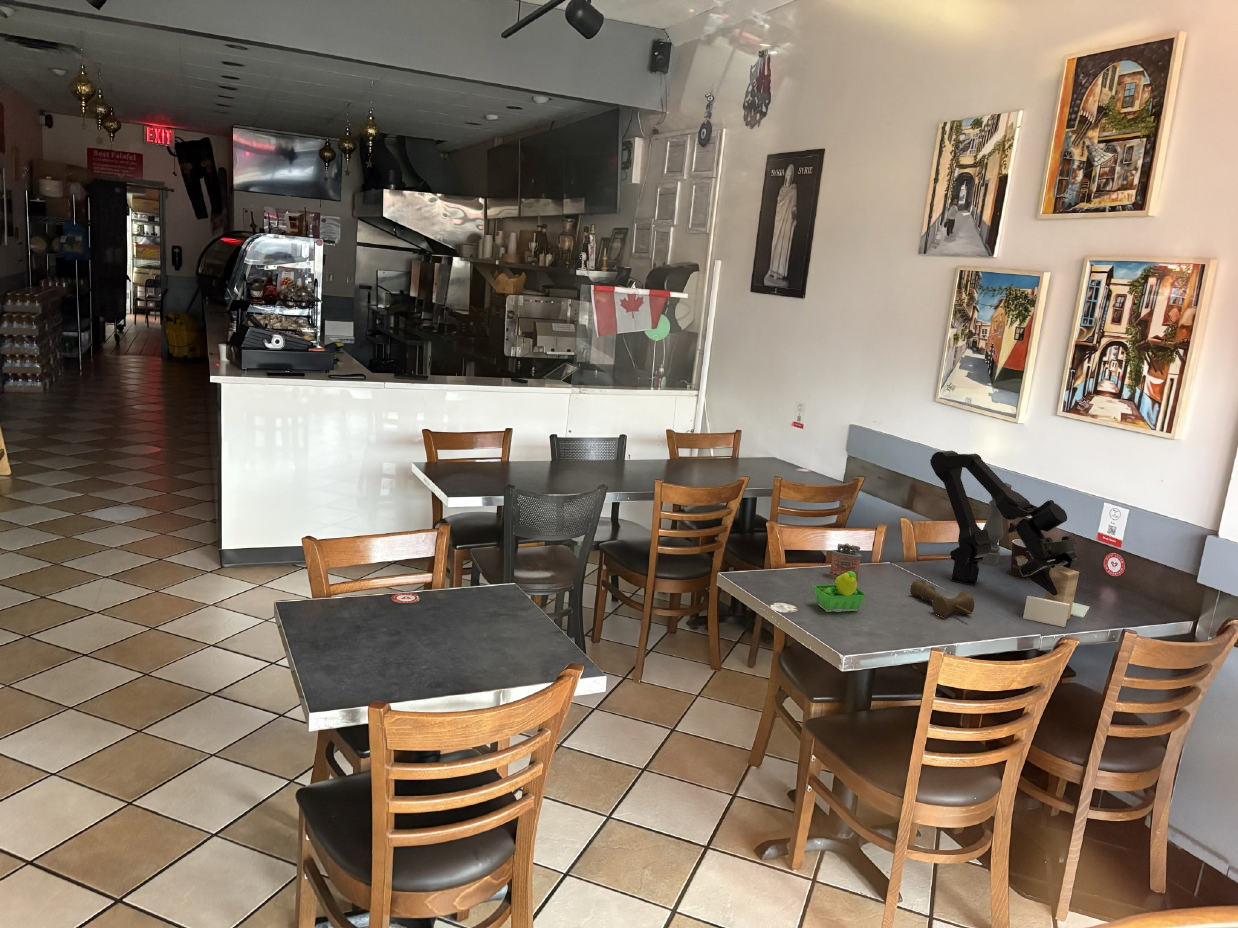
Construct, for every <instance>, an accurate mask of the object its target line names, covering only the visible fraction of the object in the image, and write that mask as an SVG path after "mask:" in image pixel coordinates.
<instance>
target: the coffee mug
mask: <svg viewBox="0 0 1238 928" xmlns="http://www.w3.org/2000/svg"><path fill="white" fill-rule="evenodd" d="M1011 544H1012V545H1011V557H1010V572H1009V573H1010V575H1011V576H1012V577H1015V578H1017V577H1018V579H1020V578H1024V579H1023V580H1027V577H1028V576H1025V577H1023V576H1022V574H1021V573H1020V571H1019V570H1020V566H1021V565H1023V564H1025V563H1027V562H1028V561H1030V560H1032V557H1031V555H1030V554H1029V552H1024V550H1023V549H1024V548H1026V547H1025V545H1024V544H1023V542H1022V540H1021V538H1018V539H1013V540H1011ZM1029 576H1030V575H1029Z"/></svg>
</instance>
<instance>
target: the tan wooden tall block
mask: <svg viewBox="0 0 1238 928" xmlns="http://www.w3.org/2000/svg"><path fill="white" fill-rule="evenodd" d="M1049 575H1050V577H1051V579H1052V581H1053V583H1054V586H1055V588H1056V590H1057V593H1058V594H1057V595H1056V596H1054V595H1052V594H1051V593H1049V592H1048V591H1047V590H1045V596H1044V599H1047V600H1052V601H1057V602H1062V603H1067V604H1070V607H1069V611H1068V616H1067V620H1069V619H1070V618H1071V615H1070V614H1071V610H1072V605H1073V603H1074V599H1075V596H1076V595H1075V594H1076V591H1077V589H1076V587H1077V585H1078V581H1079V576H1080V571H1077V570H1074V569H1073V570H1072V569H1069V568H1066V567H1063V566H1059V567H1054V568H1052V567H1050V571H1049Z"/></svg>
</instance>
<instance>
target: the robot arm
mask: <svg viewBox="0 0 1238 928" xmlns="http://www.w3.org/2000/svg"><path fill="white" fill-rule="evenodd" d="M929 463H930V466H931V468H932V470H933V472H934V474H935V476H937V478H938V479H939V480H941V482H942V483H943V485H944V487H945V490H946V494H947V497H948V499H949V503H950V505H951V509H952V512H953V514H954V517H955V521H956V523H957V526H958V530H959V532H958V538H957V542H958V547H956V548H955V549H953V550H951V551H950V553H949V555H950V559H951V561H954V562H953V568H952V573H951V577H950V581H952V582H957V583H961V584H967V585H972V586H975V584H976V583H977V582H978V577H979V574H980V573H979V572H980V565H978V564H979V561H982V560H983V558H984V557H985V556H986V555H988V553H989V552H990V550H991V544H990V543H992V541H991V540H990V538H989V536H988V531H987V530H986V529H984V530H983V529H981V528H980V526H978V524H977V522H976V519H975V515H974V513H973V510H972V507H971V504H970V501H969V498H968V495H967V491H966V490H965V487H964V483H963V481H962V470H963V468H965V469H966V470H967V471H968V472H969V473H970V474H971V475H972V476H973V477H974V478H975V480H976V481H977V482H978V483H979V484H980V485H981V486H982V487H983V488H984V489H985V490H986V492H988V494H989V495H990V496H992V497H993V498H994V500H995V504H996V507H997V508H998V510H999V511H1000V513H1001V515H1002V516H1003V517H1002V518H1004V519H1006V520H1008V521H1011V520H1013V521H1014V520H1019V519H1021V520H1019V521H1016V522H1015V521H1014V522H1010V523H1009V526H1008V528H1007V533H1008V534H1012V533H1017V535H1018V537H1019V539H1021V540H1022V542H1023V544H1024V545H1025V547H1026V548H1024V549H1023V550H1024V552H1029V554H1030V555H1031V557H1032V560H1030V561H1028V562H1027V563H1025V564H1023V565H1021V566H1020V570H1019V571H1020V573H1021V574H1022V576H1023V577H1025V576H1028V577H1027V579H1030V580H1031V581H1032V582H1033V583H1036V585H1038V586H1039V587H1041V588H1043V589H1044V590H1045V591H1046V590H1047V591H1048V592H1049V593H1051V594H1052V595H1054V596H1056V595H1057V594H1058V593H1057V590H1056V588H1055V586H1054V583H1053V581H1052V579H1051V577H1050V570H1051V568H1054V567H1059V566H1063V567H1066V568H1069V569H1072V570H1074V566H1075V564H1076V563H1077V560H1078V556H1077V554H1076V552H1075V551H1076V548H1075V547H1076V545H1077V544H1078V542H1077V541H1075V538H1073V536H1072V535H1071V534H1070V535H1069V534H1068V535H1064V536H1062V537H1061V540H1053V538H1052V537H1049V536H1048V537H1047V536H1046V535H1045V534H1044V532H1048V533H1049V532H1050V531H1052V530H1054V529H1055V528H1057V527H1059V526H1060V525H1062V524H1064V523H1065V522H1067V520H1068V515H1067V512H1066V510H1065V509H1064V508H1062V507H1061V506H1060V505H1059V504H1057V503H1055V502H1054V500H1053V499H1047V500H1046V501H1045V502H1043V504H1041V505H1040V506H1037V505H1034V504H1033V503H1030V501H1029V499H1027V498H1025V497H1024V496H1023V495H1022V494H1020V493H1019V492H1017V491H1016V490H1013V489H1012V488H1011V489H1010V488H1008V487H1007V486H1006V485H1005V484H1004V483H1005V482H1003V480H1001V478H1000V477H999V476H998V475H997V474H996V473H995V472H994V471H993V469H992V468H990V466H989V465H987V463H985V461H984V460H983V459H982V457H981V456H980V454H977V453H958V452H957V451H955V450H943V451H937V452H935V453H933V454H932V455H931V458H930V461H929ZM992 497H991V498H992ZM1027 517H1030V518H1028V519H1027ZM1043 531H1044V532H1043ZM1029 575H1030V576H1029ZM1027 579H1026V580H1027ZM1077 589H1078V588H1077V586H1076V590H1077Z"/></svg>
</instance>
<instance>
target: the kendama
mask: <svg viewBox="0 0 1238 928" xmlns="http://www.w3.org/2000/svg"><path fill="white" fill-rule="evenodd" d="M925 581H926V580H923V579H915V580H913V582H912V583H911V585H910V588H909V589H910V590H909V592H910V595H911V596H912V597H914V596H915V597H914V598H919V597H920V598H921V599H922V600H923V601H924V602H925V601H932V603H931V605H932V610H933V611H932V612H933V613H934V614H935V613H936V614H937V615H939V616H942V617H944V618H947V617H948V615H949V614H950V613H952V612H958V613H961V614H962V613H963V614H962V615H965V614H966V616H968V615H972V613H973V612H974V610H975V601H974V597H973V596H972V594H970V593H969V592H968V591H967V592H966V591H960V592H958V594H957V596H955V597H954V598H947V597H946V596H943V595H941V594H940V593H938V592H937V591H936V589H935V586H934V585H927V583H926V582H925ZM936 614H935V615H936ZM937 615H936V616H937ZM939 616H938V617H939Z"/></svg>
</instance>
